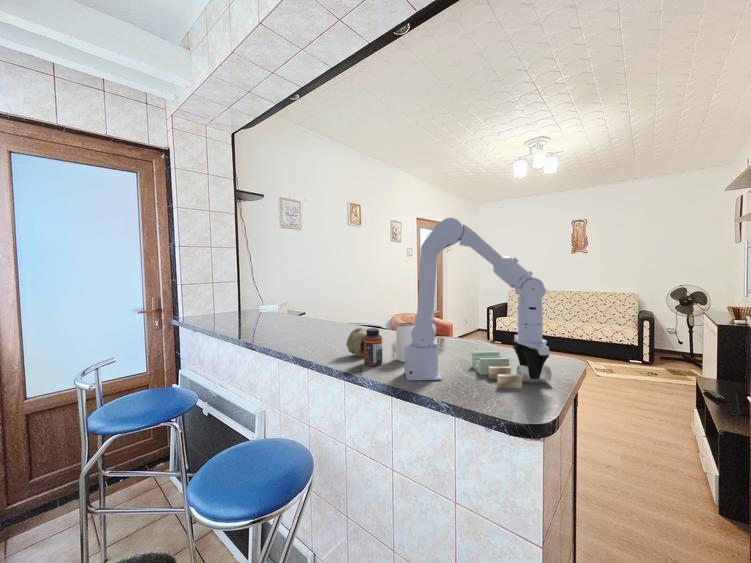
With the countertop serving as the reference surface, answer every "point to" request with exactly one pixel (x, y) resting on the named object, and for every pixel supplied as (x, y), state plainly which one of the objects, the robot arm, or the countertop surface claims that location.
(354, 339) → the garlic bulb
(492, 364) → the v block
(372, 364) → the supplement bottle
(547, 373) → the axle
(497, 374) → the beige blocks
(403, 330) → the can
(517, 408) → the countertop surface
